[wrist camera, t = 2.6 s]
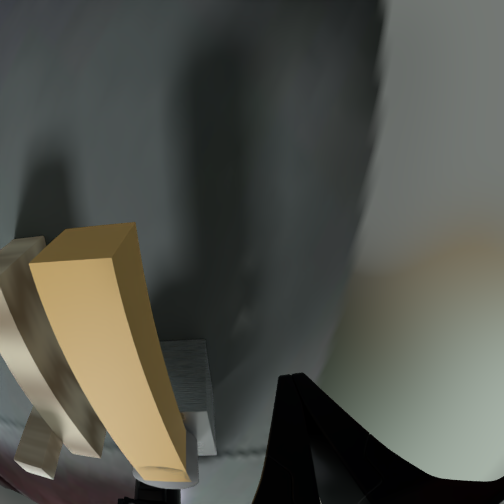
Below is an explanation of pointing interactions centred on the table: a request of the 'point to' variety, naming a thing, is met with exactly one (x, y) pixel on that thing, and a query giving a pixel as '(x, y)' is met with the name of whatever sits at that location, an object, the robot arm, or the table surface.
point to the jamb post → (192, 389)
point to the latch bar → (116, 347)
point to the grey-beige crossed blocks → (41, 369)
